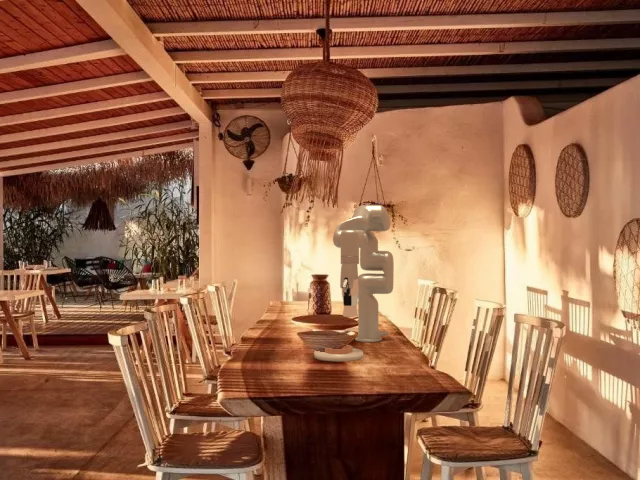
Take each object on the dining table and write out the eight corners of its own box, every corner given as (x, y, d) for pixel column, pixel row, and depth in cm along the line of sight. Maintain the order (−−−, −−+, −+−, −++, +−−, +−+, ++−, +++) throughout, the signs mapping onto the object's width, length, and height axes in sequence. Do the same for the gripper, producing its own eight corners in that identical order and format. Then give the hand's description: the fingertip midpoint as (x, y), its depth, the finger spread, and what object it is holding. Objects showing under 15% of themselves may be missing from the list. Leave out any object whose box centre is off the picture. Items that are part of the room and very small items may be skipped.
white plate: (349, 350, 260) (349, 341, 260) (371, 358, 241) (371, 348, 241) (306, 354, 252) (306, 344, 252) (326, 363, 233) (326, 352, 233)
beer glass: (339, 316, 244) (338, 279, 244) (345, 314, 250) (345, 278, 250) (354, 317, 241) (354, 279, 241) (361, 315, 247) (361, 278, 247)
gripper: (347, 259, 255) (347, 302, 255) (334, 261, 239) (334, 306, 239) (364, 259, 253) (364, 302, 253) (352, 261, 236) (352, 307, 236)
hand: (350, 304), depth 246 cm, fingers closed on beer glass, 6 cm apart
